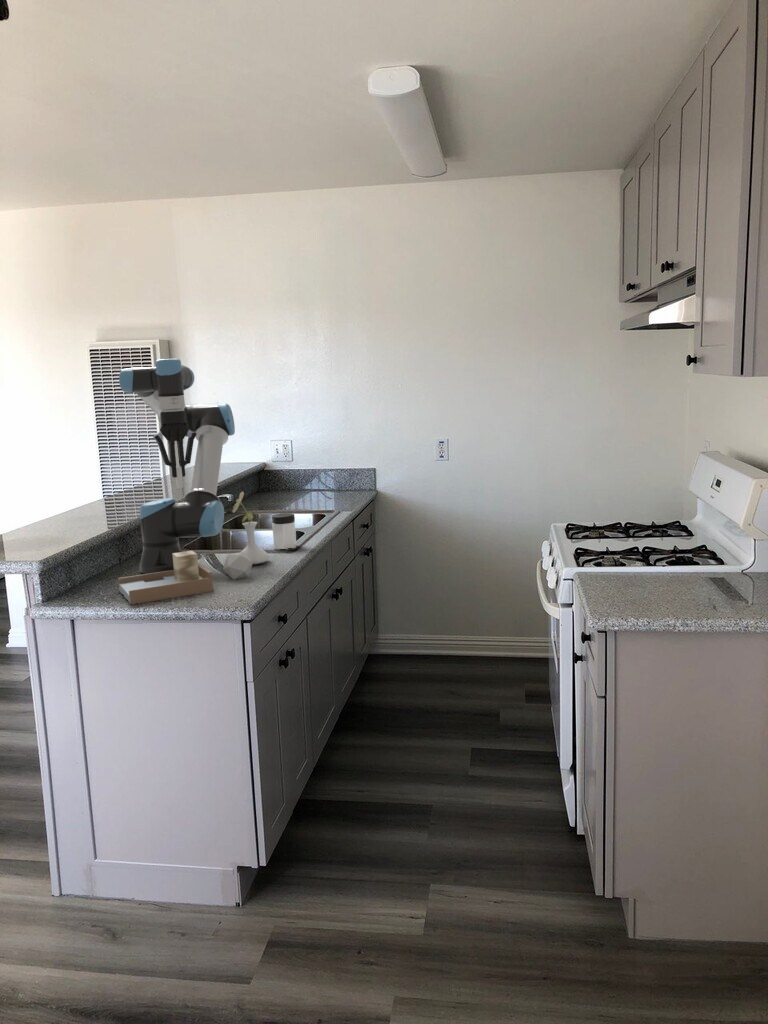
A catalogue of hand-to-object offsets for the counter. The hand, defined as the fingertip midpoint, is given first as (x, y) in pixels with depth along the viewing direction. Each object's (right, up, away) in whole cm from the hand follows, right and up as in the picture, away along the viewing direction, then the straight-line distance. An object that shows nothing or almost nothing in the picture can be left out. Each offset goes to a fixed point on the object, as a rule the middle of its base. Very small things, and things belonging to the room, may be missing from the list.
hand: (179, 487), depth 252 cm
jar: (+27, -21, +47) cm, 58 cm away
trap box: (-2, -31, -7) cm, 32 cm away
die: (+17, -28, +5) cm, 34 cm away
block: (+3, -28, -4) cm, 28 cm away
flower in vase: (+18, -25, +23) cm, 39 cm away
